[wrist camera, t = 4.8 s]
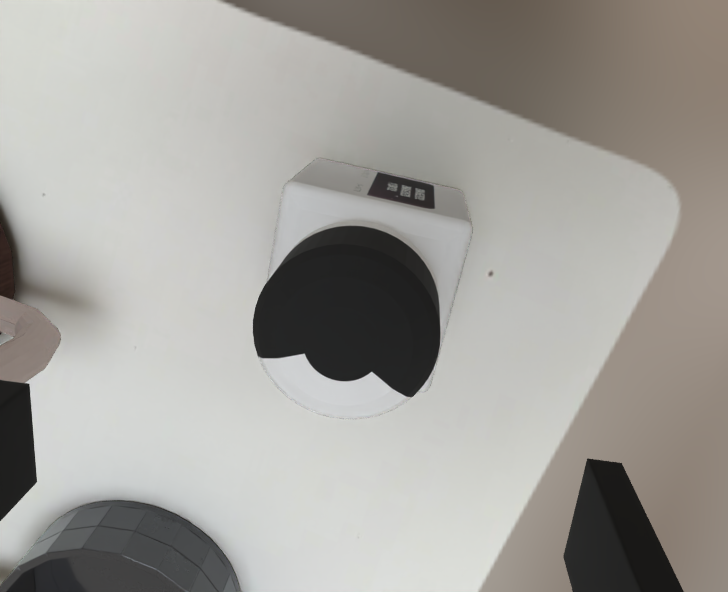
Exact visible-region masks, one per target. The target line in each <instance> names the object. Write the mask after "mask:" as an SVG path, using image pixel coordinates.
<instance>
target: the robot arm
mask: <svg viewBox="0 0 728 592" xmlns="http://www.w3.org/2000/svg"><path fill="white" fill-rule="evenodd" d="M36 482H37V477H36V464H35V451H34V438H33V425H32V412H31V399H30V386H29V384H27V383H19V382H12V381H4V380H0V521H1V520H2V519H3V518H4V517H5V516H6V514H7V513H8V512H9V511H10V510H11V509H12V508H13V507H14V506H15V505H16V504H17V503H18V502H19V501H20V500H21V498H22V497H23V496H24V495H25V494H26V493H27V492H28V491H29V490H30V489H31V488H32V487H33V486H34V485H35V483H36ZM564 560H565V564H566V568H567V572H568V575H569V579H570V583H571V586H572V590H573V592H683V590H682V587H681V585H680V583H679V581H678V579H677V577H676V575H675V573H674V571H673V569H672V567H671V565H670V563H669V560H668V558H667V556H666V555H665V552H664V550H663V548H662V546H661V544H660V542H659V540H658V538H657V536H656V534H655V531H654V529H653V527H652V525H651V523H650V521H649V519H648V517H647V515H646V513H645V511H644V509H643V507H642V505H641V502H640V501H639V499H638V496H637V494H636V492H635V490H634V488H633V486H632V484H631V482H630V480H629V478H628V476H627V474H626V471H625V469H624V467H623V465H622V463H616V462H609V461H601V460H593V459H587V462H586V466H585V470H584V475H583V479H582V483H581V487H580V491H579V495H578V499H577V503H576V507H575V511H574V516H573V520H572V524H571V528H570V532H569V536H568V540H567V544H566V548H565V553H564Z"/></svg>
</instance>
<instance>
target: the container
mask: <svg viewBox="0 0 728 592" xmlns="http://www.w3.org/2000/svg"><path fill="white" fill-rule="evenodd" d="M472 233H473V227H472V223H471V219H470V215H469V211H468V208H467V204H466V200H465V196H464V194H463V192H462V191H461V190H459V189H455V188H450V187H446V186H441V185H437V184H433V183H428V182H424V181H420V180H415V179H411V178H406V177H402V176H398V175H393V174H389V173H384V172H380V171H376V170H371V169H367V168H362V167H358V166H354V165H349V164H345V163H340V162H336V161H332V160H327V159H323V158H316V159H315V160H313V161H312V162H311V163H310V164H309V165H307V166H306V167H305V168H304V169H303V170H301V171H300V172H299V173H298V174H297V175H295V176H294V177H293V178H292V179H291V180H289V181H288V182H287V183H286V184H285V185H284V187H283V190H282V196H281V202H280V207H279V213H278V219H277V225H276V231H275V237H274V243H273V249H272V255H271V261H270V266H269V272H268V278H267V283H266V284H265V286H264V288H263V290H262V292H261V294H260V296H259V298H258V301H257V304H256V307H255V312H254V319H253V336H254V344H255V348H256V351H257V355H258V357H259V360H260V362H261V364H262V366H263V368H264V370H265V372H266V373H267V375H268V376H269V378H270V379H271V380H272V382H273V383H274V384H275V385H276V387H277V388H278V389H279V390H281V391H282V392H283V393H284V394H285V395H286V396H287V397H288V398H290V399H291V400H293V401H294V402H295V403H297V404H299V405H300V406H302V407H304V408H306V409H308V410H310V411H313V412H315V413H318V414H321V415H325V416H328V417H333V418H340V419H362V418H369V417H373V416H378V415H381V414H384V413H386V412H389V411H391V410H393V409H395V408H397V407H399V406H401V405H402V404H404V403H405V402H406V401H408V400H409V399H410V398H412V397H413V396H414V395H415V394H416V393H417V392H425V391H427V390H428V389H429V387H430V385H431V382H432V379H433V375H434V371H435V368H436V364H437V360H438V357H439V353H440V349H441V346H442V342H443V338H444V335H445V331H446V328H447V324H448V320H449V317H450V313H451V309H452V306H453V302H454V298H455V295H456V291H457V287H458V284H459V280H460V277H461V273H462V269H463V266H464V262H465V258H466V255H467V251H468V247H469V244H470V240H471V236H472Z"/></svg>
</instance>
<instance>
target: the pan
mask: <svg viewBox="0 0 728 592" xmlns="http://www.w3.org/2000/svg"><path fill="white" fill-rule="evenodd" d="M0 592H240V588H239V584H238V581H237V578H236V575H235V573H234V571H233V569H232V567H231V565H230V563H229V561H228V560H227V558H226V557H225V555H224V554H223V552H222V551H221V550H220V549H219V548H218V546H217V545H216V544H215V543H214V542H213V541H212V540H211V539H210V538H209V537H208V536H207V535H205V534H204V533H203V532H202V531H201V530H200V529H198V528H197V527H195V526H194V525H192V524H191V523H190V522H188V521H186V520H184V519H183V518H181V517H179V516H177V515H175V514H173V513H171V512H168V511H166V510H164V509H161V508H157V507H154V506H151V505H147V504H142V503H137V502H129V501H104V502H97V503H92V504H88V505H85V506H81V507H79V508H76V509H74V510H72V511H70V512H68V513H66V514H65V515H63V516H61V517H60V518H58V519H57V520H56V521H55V522H54V523H53V524H51V525H50V526H49V528H48V529H47V530H46V531H45V532H44V533H43V535H42V536H41V537H40V538H39V539H38V540H37V541H36V542H35V544H34V545H33V546H32V547H31V548H30V550H29V551H28V552H27V553H26V554H25V556H24V557H23V558H22V559H21V561H20V562H19V563H18V564H17V565H16V567H15V568H14V569H13V570H12V572H11V573H10V574H9V575H8V576H7V578H6V579H5V580H4V581H3V582H2V584H1V585H0Z"/></svg>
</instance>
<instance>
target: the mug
mask: <svg viewBox="0 0 728 592" xmlns="http://www.w3.org/2000/svg"><path fill="white" fill-rule="evenodd" d="M14 294H15V286H14V274H13V262H12V251H11V249H10V246H9V243H8V241H7V238H6V236H5V233H4V231H3V228H2V226H1V223H0V334H1V333H2V332H3V333H5V334H8V335H10V336H13V337H14V338H13V339H11V340H9V341H8V342H6V343H4V344H3V345H1V346H0V380H4V381H12V382H19V383H25V382H26V381H28V380H29V379H31V378H32V377H34V376H35V375H36V374H38V373H39V372H41V371H42V370H44V369H45V367H46V366H47V365H48V363H49V361H50V360H51V358H52V356H53V354H54V353H55V351H56V349H57V348H58V346H59V344H60V341H61V335H60V332H59V330H58V329H57V328H56V327H55V326H54V325H53V324H52V323H51V322H50V321H49V320H48V319H47V318H46V317H45V316H44V315H43V314H42V313H41V312H40V311H39V310H38V309H36V308H33V307H30V306H28V305H25V304H22V303H20V302H17V301H14V300H13V298H14Z"/></svg>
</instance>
